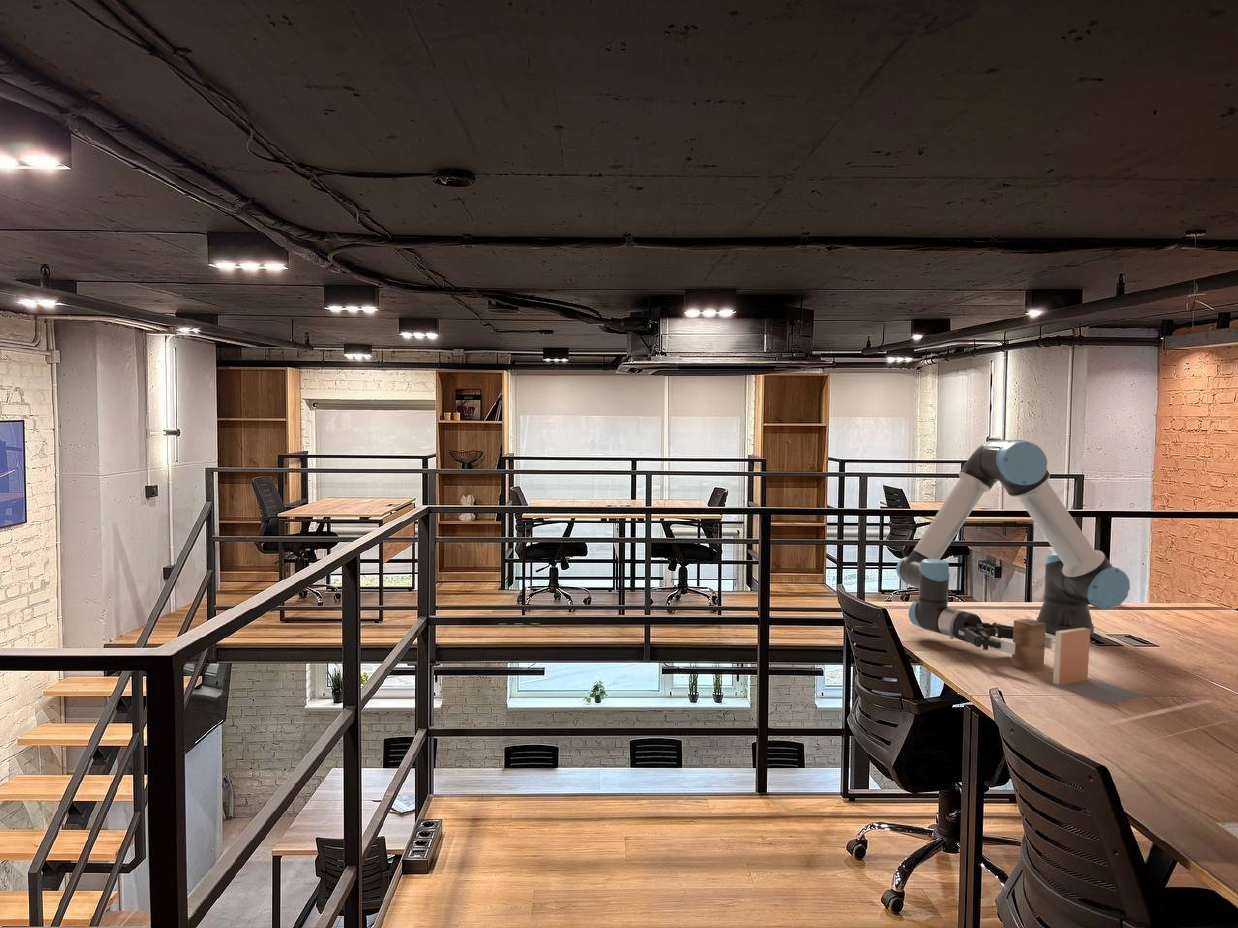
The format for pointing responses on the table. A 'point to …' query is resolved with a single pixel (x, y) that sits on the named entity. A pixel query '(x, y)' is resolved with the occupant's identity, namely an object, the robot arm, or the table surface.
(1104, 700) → the slate mat
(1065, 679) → the tile
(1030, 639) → the walnut block
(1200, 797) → the table surface
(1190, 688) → the table surface
